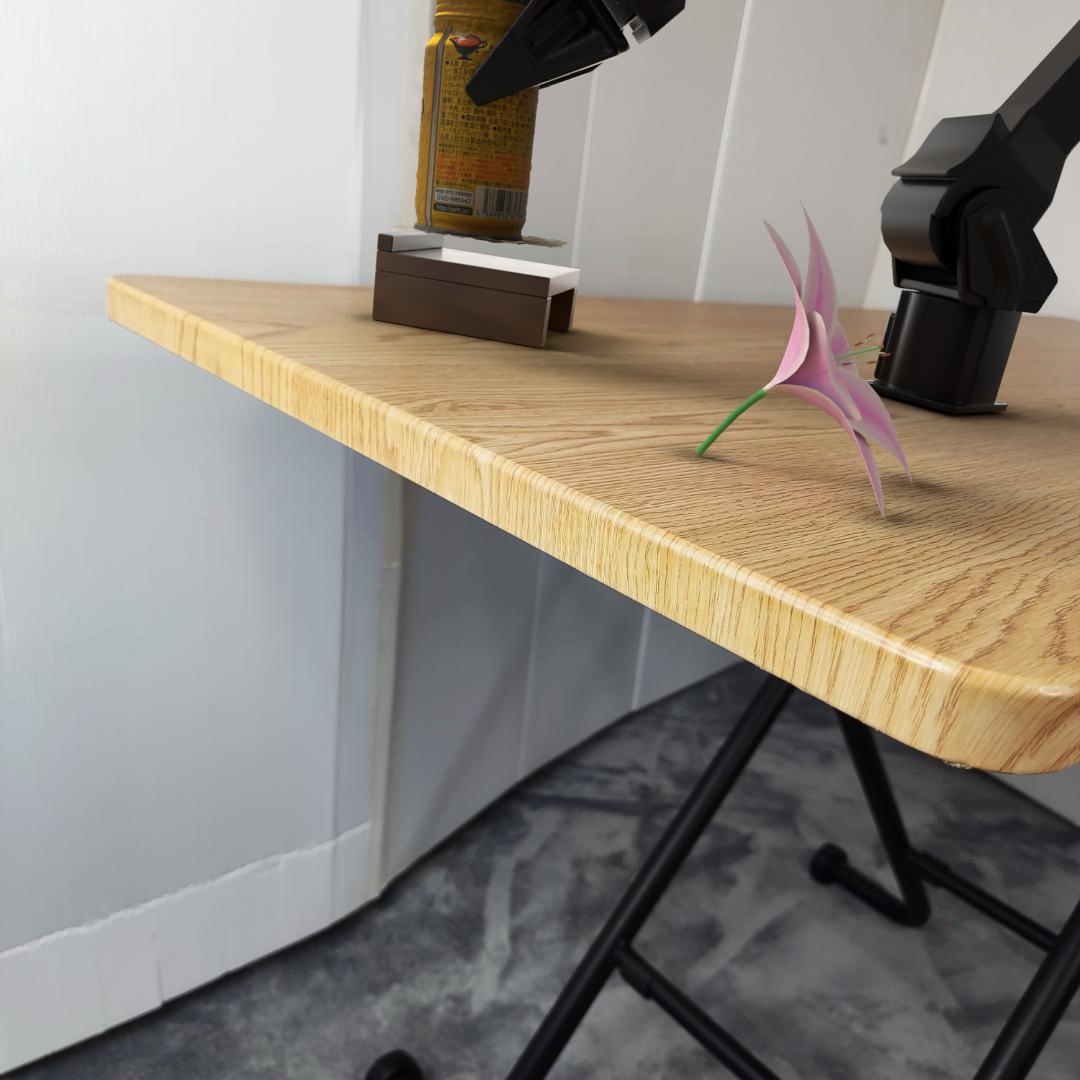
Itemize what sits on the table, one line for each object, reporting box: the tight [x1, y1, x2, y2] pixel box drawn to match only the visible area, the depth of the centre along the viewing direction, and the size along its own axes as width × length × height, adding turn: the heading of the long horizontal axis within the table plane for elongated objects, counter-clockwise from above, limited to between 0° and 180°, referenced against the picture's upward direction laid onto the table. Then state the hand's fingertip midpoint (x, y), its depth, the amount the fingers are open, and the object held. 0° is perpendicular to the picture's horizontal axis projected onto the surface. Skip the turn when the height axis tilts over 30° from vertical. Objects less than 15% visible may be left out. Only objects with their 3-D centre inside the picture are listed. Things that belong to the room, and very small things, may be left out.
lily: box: [695, 199, 913, 518], centre depth 36 cm, size 12×12×10 cm
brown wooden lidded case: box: [371, 231, 581, 349], centre depth 62 cm, size 11×10×5 cm
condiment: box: [387, 0, 571, 249], centre depth 49 cm, size 7×8×12 cm
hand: (467, 101), depth 49 cm, fingers closed on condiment, 6 cm apart
